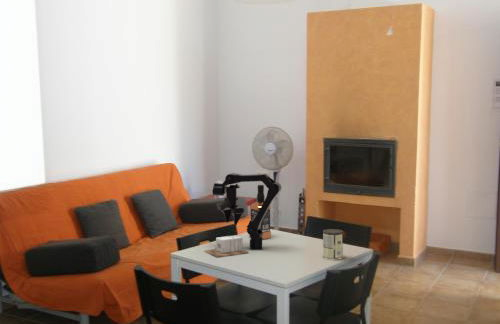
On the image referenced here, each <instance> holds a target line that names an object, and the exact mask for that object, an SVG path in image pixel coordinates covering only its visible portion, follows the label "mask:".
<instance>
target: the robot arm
mask: <svg viewBox="0 0 500 324" xmlns="http://www.w3.org/2000/svg"><path fill="white" fill-rule="evenodd" d="M224 178H225V179H224V181H223V183H218V182H215V183H213V187H212V195H213V196H220V197H221V196H224V195H226V196H225V197H224V199H223V200H222V201H219V202H218V203H216V207H217V210H219V211H221V212H222V213H223V216H224V219H225V222H226V223H229V221H230V218H231V215H232V216H233V225H234V226H237V224H238V223H239V221H240V219H241V216H242V215H244V213H245V208H243V207H242V206H239V205H238V204H237V201H238V200H239V198H238V196H237V192H238V191H237V189H240V188H241V186H240V185H239V184H238V183H242V182H243V183H245V182H247V183H248V182H251V183H252V182H262V183H263V185H264V186H265V187H266V188H268V189H267V192H266V197H265V198H264V202H263V204H262V206H261V208H260V210H259V212H258V214H257V216H256V217H255V219H251V218H250V220H249V221H248V224H247V226H246V232H247V234H248V236H249V235H250V239H249V248H250V250H263V240H262V237H261V236H262V235H263V232H262V230H261V229H260V226H261V222H262V219H263V217H264V216H265V214H266V212H267V210H268V208H269V206H270V205H271V204H272V203H273V201H274V199H276V197H277V196H278V195H279V193H280V192H281V191H282V184H280V183H279V182H277V181H275V180H274V179H273V178H271V177H270V176H269V175H268V174H267V173H260V174H259V173H258V174H255V173H254V174H239V173H236V172H231V173H228V174H226V176H225V177H224Z"/></svg>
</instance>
